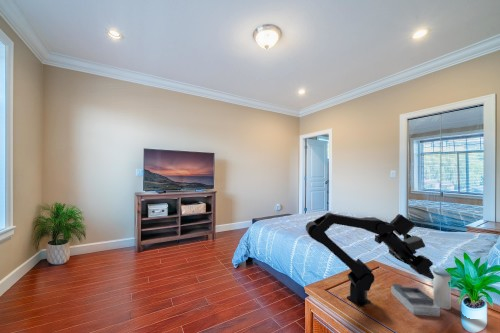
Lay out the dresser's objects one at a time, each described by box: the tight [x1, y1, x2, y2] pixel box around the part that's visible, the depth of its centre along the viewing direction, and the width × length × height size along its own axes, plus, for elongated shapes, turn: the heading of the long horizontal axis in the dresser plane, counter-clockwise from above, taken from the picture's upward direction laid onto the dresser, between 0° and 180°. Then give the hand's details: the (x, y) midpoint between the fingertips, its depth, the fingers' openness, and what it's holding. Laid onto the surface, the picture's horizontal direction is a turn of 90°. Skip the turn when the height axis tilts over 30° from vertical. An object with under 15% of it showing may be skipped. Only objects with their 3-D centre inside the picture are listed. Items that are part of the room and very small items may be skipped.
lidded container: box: [432, 267, 452, 310], centre depth 83 cm, size 5×5×13 cm
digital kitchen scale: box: [390, 283, 441, 317], centre depth 84 cm, size 9×14×4 cm, turn 175°
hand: (424, 272), depth 84 cm, fingers open, 9 cm apart
